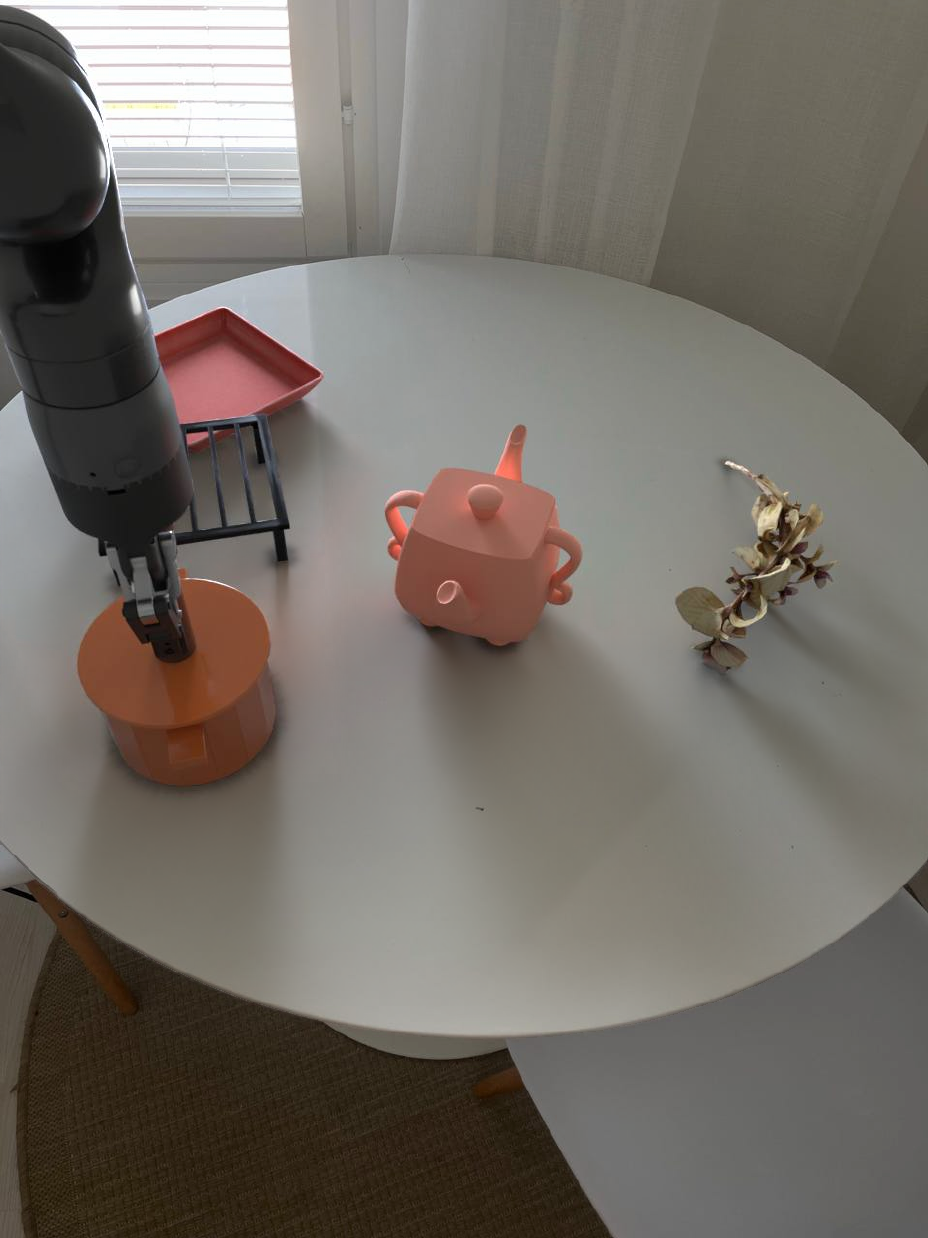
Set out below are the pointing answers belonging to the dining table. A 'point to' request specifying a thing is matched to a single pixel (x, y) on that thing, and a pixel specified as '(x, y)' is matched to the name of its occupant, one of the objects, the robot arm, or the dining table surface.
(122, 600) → the lid
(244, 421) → the rack
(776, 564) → the artificial flower
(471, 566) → the teapot
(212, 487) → the dining table surface
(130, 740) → the pot
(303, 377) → the plant saucer
